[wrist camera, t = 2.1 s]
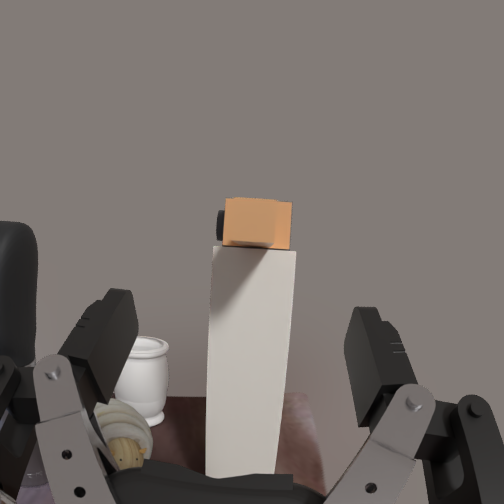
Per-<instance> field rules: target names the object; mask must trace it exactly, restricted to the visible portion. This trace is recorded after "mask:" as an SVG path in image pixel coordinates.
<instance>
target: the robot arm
mask: <svg viewBox="0 0 504 504" xmlns="http://www.w3.org/2000/svg"><path fill="white" fill-rule="evenodd" d="M37 274H38V250H37V243H36V238H35V235H34V233H33V231H32V229H31V228H30V227H29V226H28V225H26V224H24V223H20V222H10V221H0V504H17V503H16V499H17V495H18V492H19V489H20V486H39V485H42V484H45V483H47V482H49V485H50V489H51V492H52V495H53V498H54V501H55V504H395V502H396V500H397V498H398V497H399V495H400V493H401V491H402V489H403V488H404V486H405V484H406V482H407V480H408V478H409V476H410V474H411V472H412V470H413V468H414V466H415V463H416V460H414V459H421V460H422V463H423V469H424V475H425V481H426V487H427V494H428V501H429V504H504V444H503V441H502V438H501V435H500V432H499V429H498V426H497V424H496V421H495V418H494V415H493V413H492V410H491V408H490V406H489V404H488V403H487V402H486V401H485V400H484V399H483V398H481V397H479V396H477V395H466V396H464V397H463V398H462V399H461V400H460V401H459V403H458V404H454V403H448V402H442V401H437V400H435V399H434V397H433V395H432V394H431V393H430V391H429V390H428V389H426V388H425V387H423V386H421V385H418V383H417V380H416V377H415V375H414V372H413V369H412V367H411V364H410V362H409V359H408V356H407V354H406V353H405V349H404V346H403V344H402V341H401V339H400V336H399V334H398V331H397V330H396V329H395V328H394V327H393V326H392V325H391V324H390V323H389V322H388V321H381V318H380V315H379V313H378V310H377V308H376V307H355V308H354V310H353V313H352V317H351V320H350V323H349V327H348V330H347V333H346V337H345V341H344V355H345V360H346V365H347V370H348V374H349V379H350V384H351V389H352V395H353V400H354V405H355V411H356V416H357V422H358V427H369V429H370V435H369V436H368V438H367V440H366V441H365V443H364V444H363V446H362V447H361V449H360V450H359V452H358V453H357V455H356V456H355V458H354V459H353V461H352V462H351V464H350V465H349V466H348V468H347V469H346V470H345V472H344V473H343V475H342V476H341V477H340V479H339V480H338V481H337V483H336V484H335V485H334V486H333V488H332V489H331V490H330V492H329V493H328V494H327V495H326V497H325V496H323V495H322V494H320V493H319V492H317V491H315V490H313V489H311V488H309V487H307V486H304V485H301V484H297V483H293V474H259V473H255V474H248V475H242V476H235V477H227V478H212V477H209V476H206V475H204V474H201V473H198V472H195V471H193V470H190V469H188V468H185V467H183V466H180V465H176V464H170V463H165V462H159V461H154V460H149V459H145V458H144V462H143V465H142V467H132V468H127V469H122V470H120V468H119V466H118V464H117V462H116V461H115V459H114V457H113V455H112V453H111V451H110V449H109V446H108V444H107V441H106V439H105V436H104V434H103V431H102V429H101V426H100V423H99V421H98V418H97V415H96V412H95V410H94V408H95V406H96V404H97V402H98V403H102V404H106V405H108V403H109V401H110V399H111V396H112V394H113V391H114V389H115V387H116V384H117V382H118V379H119V377H120V375H121V372H122V370H123V368H124V365H125V363H126V361H127V359H128V356H129V354H130V352H131V350H132V347H133V345H134V343H135V341H136V338H137V335H138V319H137V315H136V310H135V305H134V300H133V295H132V292H131V291H130V290H123V289H114V288H111V289H110V290H109V291H108V292H107V294H106V295H105V296H104V298H103V300H102V301H101V300H97V301H96V302H94V303H93V304H92V305H90V306H89V307H88V308H87V309H86V310H85V312H84V313H83V315H82V316H81V319H79V321H78V322H77V324H76V327H74V328H73V330H72V331H71V333H70V335H69V336H68V338H67V339H66V341H65V342H64V344H63V346H62V347H61V349H60V350H59V352H58V354H55V355H49V356H46V357H44V358H42V359H41V360H40V361H39V362H38V363H37V364H36V358H35V336H36V291H37Z"/></svg>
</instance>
